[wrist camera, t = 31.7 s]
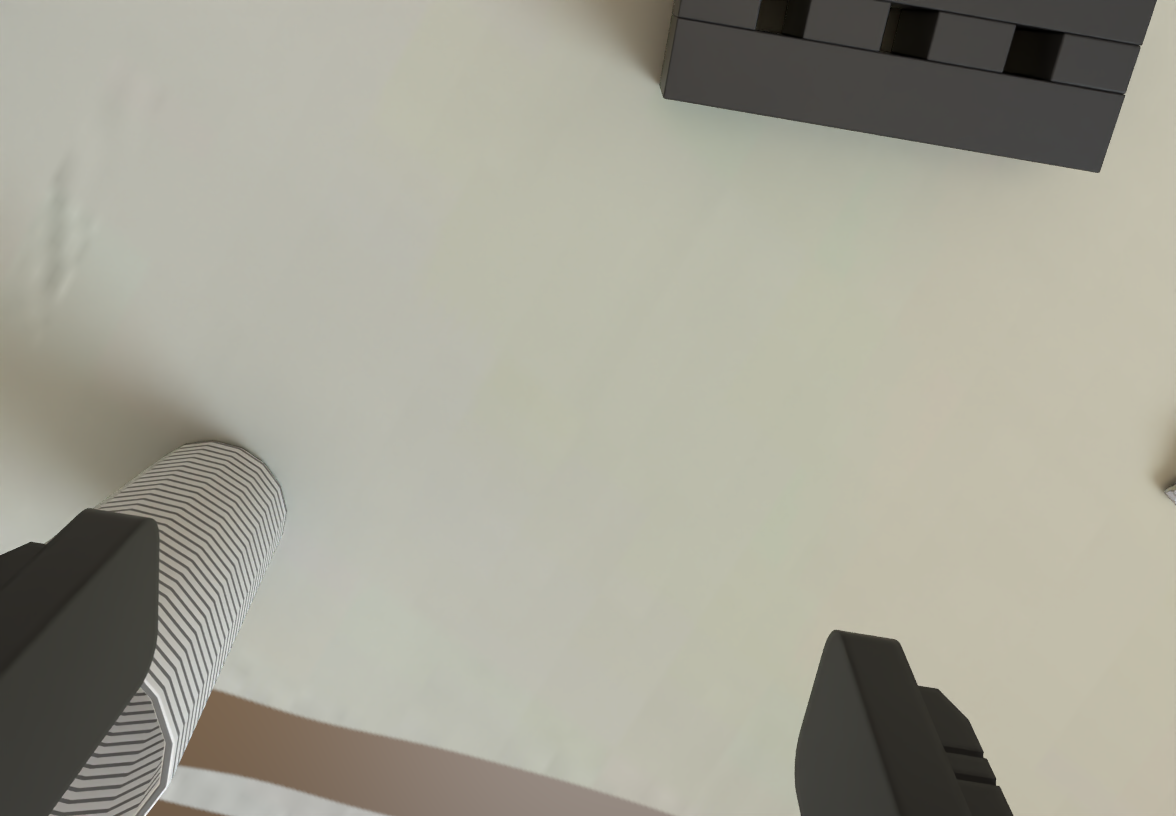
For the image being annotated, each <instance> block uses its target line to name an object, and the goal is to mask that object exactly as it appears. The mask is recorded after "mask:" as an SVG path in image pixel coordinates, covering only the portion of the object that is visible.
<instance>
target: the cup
mask: <svg viewBox="0 0 1176 816" xmlns="http://www.w3.org/2000/svg"><path fill="white" fill-rule="evenodd" d="M93 509H98V510H105V511H111V512H117V513H123V514H129V515H136V516H142V517H148V518H152V519H154V520H155V521H156V523H157V525H158V528H159V538H160V546H159V602H158V636H157V643H156V649H155V653H154V657H153V660H152V663H151V666H150V669H149V671H148V674H147V676H146V678H145V680H144V682H143V684H142V685H141V687H140V688H139V690H138V691H137V692H136V694H135V695H134V697H133V698H132V699H131V701H130V702H129V704H128V705H127V707H126V708H125V709H124V711H123V712H122V714H121V715H120V716H119V718H118V719H117V721H116V722H115V723H114V725H113V726H112V728H111V729H110V730H109V732H108V733H107V735H106V736H105V737H104V739H103V740H102V742H101V743H100V744H99V746H98V747H97V749H96V750H95V751H94V753H93V754H92V756H91V757H90V758H89V760H88V761H87V763H86V764H85V765H84V767H83V768H82V770H81V771H80V772H79V774H78V775H77V777H76V778H75V779H74V781H73V782H72V784H71V785H70V786H69V788H68V789H67V791H66V792H65V793H64V795H63V796H62V798H61V799H60V800H59V802H58V803H57V805H56V806H55V807H54V809H53V810H52V812H51V813H50V814H49V816H146V815H147V813H148V812H149V811H150V809H151V808H152V807H153V806H154V804H155V803H156V802H157V800H158V799H159V798H160V797H161V795H162V794H163V793H164V791H165V790H166V789H167V788H168V786H169V784H170V782H171V780H172V778H173V775H174V773H175V771H176V769H177V767H178V764H179V762H180V760H181V758H182V755H183V753H184V751H185V749H186V747H187V744H188V742H189V740H190V738H191V736H192V733H193V731H194V729H195V727H196V725H197V722H198V720H199V718H200V715H201V713H202V711H203V709H204V707H205V705H206V702H207V700H208V698H209V696H210V693H211V691H212V689H213V687H214V685H215V682H216V680H217V678H218V676H219V674H220V671H221V669H222V667H223V665H224V663H225V660H226V658H227V656H228V654H229V651H230V649H231V647H232V645H233V643H234V640H235V638H236V636H237V634H238V632H239V629H240V627H241V625H242V623H243V620H244V618H245V616H246V614H247V612H248V609H249V607H250V605H251V603H252V601H253V598H254V596H255V594H256V592H257V590H258V587H259V585H260V583H261V581H262V578H263V576H264V574H265V572H266V570H267V567H268V565H269V563H270V561H271V559H272V556H273V554H274V552H275V550H276V547H277V545H278V543H279V541H280V539H281V536H282V534H283V529H284V523H285V518H286V512H287V509H286V505H285V501H284V498H283V494H282V490H281V486H280V484H279V483H278V481H277V480H276V479H275V477H274V476H273V475H272V473H271V472H270V471H269V469H268V468H267V466H266V465H265V464H264V463H263V462H262V461H260V460H259V459H257V458H256V457H254V456H253V455H251V454H250V453H248V452H247V451H245V450H244V449H242V448H240V447H236V446H232V445H228V444H224V443H220V442H216V441H206V442H198V443H189V444H185V445H183V446H181V447H179V448H178V449H176V450H174V451H172V452H171V453H169V454H167V455H165V456H164V457H162V458H161V459H160V460H158V461H157V462H156V463H154V464H153V465H151V466H150V467H149V468H147V469H146V470H145V471H143V472H142V473H140V474H139V475H138V476H136V477H135V478H134V479H132V480H131V481H130V482H128V483H127V484H125V485H124V486H123V487H121V488H120V489H119V490H117V491H116V492H115V493H113V494H112V495H110V496H109V497H108V498H106V499H105V500H104V501H102V502H101V503H99V504H98V505H97V506H95V507H94V508H93ZM54 537H55V536H54ZM54 537H53V538H54ZM53 538H52V539H53ZM52 539H50V540H52ZM50 540H49V541H50ZM49 541H48V542H49ZM48 542H46V543H45V544H47V543H48Z"/></svg>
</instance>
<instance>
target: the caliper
mask: <svg viewBox="0 0 1176 816" xmlns="http://www.w3.org/2000/svg"><path fill="white" fill-rule="evenodd" d="M1164 493H1165V494H1166V495H1167V496H1168V497H1169V498H1170V499H1171V500H1172V501H1173V502H1174V503H1175V505H1176V483H1175V484H1173V485H1172V486H1170V487H1169V488H1167V489H1166V490H1165V491H1164Z"/></svg>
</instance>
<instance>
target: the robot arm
mask: <svg viewBox="0 0 1176 816" xmlns="http://www.w3.org/2000/svg"><path fill="white" fill-rule="evenodd" d="M159 546H160V538H159V528H158V525H157V523H156V521H155V520H154V519H152V518H148V517H142V516H136V515H129V514H123V513H117V512H111V511H105V510H98V509H92V508H87V509H85V510H83V511H82V512H81V513H79V514H78V515H77V516H76V517H75V518H74V519H73V520H72V521H71V522H70V523H69V524H68V525H67V526H65V527H64V528H63V529H62V530H61V531H60V532H59V533H58V534H57V535H56V536H55V537H54V538H53V539H52V540H50V541H49V542H48V543H47V544H41V543H35V542H29V543H27V544H25V545H23V546H20V547H18V548H16V549H14V550H11V551H9V552H7V553H5V554H2V555H0V816H49V814H50V813H51V812H52V810H53V809H54V807H55V806H56V805H57V803H58V802H59V800H60V799H61V798H62V796H63V795H64V793H65V792H66V791H67V789H68V788H69V786H70V785H71V784H72V782H73V781H74V779H75V778H76V777H77V775H78V774H79V772H80V771H81V770H82V768H83V767H84V765H85V764H86V763H87V761H88V760H89V758H90V757H91V756H92V754H93V753H94V751H95V750H96V749H97V747H98V746H99V744H100V743H101V742H102V740H103V739H104V737H105V736H106V735H107V733H108V732H109V730H110V729H111V728H112V726H113V725H114V723H115V722H116V721H117V719H118V718H119V716H120V715H121V714H122V712H123V711H124V709H125V708H126V707H127V705H128V704H129V702H130V701H131V699H132V698H133V697H134V695H135V694H136V692H137V691H138V690H139V688H140V687H141V685H142V684H143V682H144V680H145V678H146V676H147V674H148V671H149V669H150V666H151V663H152V660H153V657H154V653H155V649H156V643H157V636H158V602H159ZM983 753H984V752H983V750H982V748H981V745H980V743H979V741H978V739H977V737H976V735H975V733H974V730H973V728H972V726H971V724H970V722H969V720H968V719H967V718H966V717H965V716H964V715H963V714H962V713H961V712H960V711H959V710H958V709H957V708H956V707H955V706H954V705H953V704H952V703H951V702H950V701H949V700H948V699H947V698H946V697H945V696H944V695H943V693H942V692H941V691H940V690H939V689H935V688H929V687H923V686H918V685H917V683H916V680H915V678H914V675H913V673H912V671H911V668H910V666H909V663H908V661H907V659H906V656H905V654H904V651H903V649H902V647H901V645H900V643H899V642H898V641H897V640H895V639H889V638H883V637H877V636H871V635H865V634H858V633H852V632H846V631H840V630H834V631H832V632H831V634H830V635H829V637H828V638H827V641H826V643H825V646H824V649H823V653H822V656H821V660H820V663H819V667H818V671H817V674H816V678H815V681H814V685H813V688H812V692H811V695H810V699H809V702H808V706H807V709H806V713H805V716H804V720H803V723H802V727H801V730H800V734H799V738H798V743H797V749H796V757H795V788H796V794H797V799H798V803H799V808H800V813H801V816H1013V814H1012V812H1011V810H1010V807H1009V805H1008V803H1007V801H1006V799H1005V797H1004V795H1003V792H1002V790H1001V788H1000V786H996V777H995V775H994V773H993V771H992V769H991V767H990V765H989V763H988V760H987V759H985V758H983Z"/></svg>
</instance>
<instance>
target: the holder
mask: <svg viewBox="0 0 1176 816" xmlns="http://www.w3.org/2000/svg"><path fill="white" fill-rule="evenodd" d="M1156 1H1157V0H789V2H788V7H787V11H786V16H785V20H784V25H783V30H782V34H779V33H774V32H768V31H762V30H756V24H757V20H758V15H759V10H760V5H761V0H674V6H673V12H672V14H673V15H672V17H671V23H670V28H669V34H668V40H667V45H666V51H665V56H664V62H663V68H662V73H661V79H660V84H659V85H660V89H661V92H662V95H663V98H665V99H671V100H676V101H682V102H688V103H694V104H700V105H706V106H711V107H717V108H723V109H729V110H735V111H740V112H746V113H752V114H758V115H764V116H770V117H775V118H781V119H787V120H793V121H799V122H805V123H810V124H816V125H822V126H828V127H834V128H840V129H845V130H851V131H857V132H863V133H869V134H874V135H880V136H886V137H892V138H898V139H904V140H909V141H915V142H921V143H927V144H933V145H939V146H944V147H950V148H956V149H962V150H968V151H974V152H979V153H985V154H991V155H997V156H1003V157H1008V158H1014V159H1020V160H1026V161H1032V162H1038V163H1043V164H1049V165H1055V166H1061V167H1067V168H1073V169H1078V170H1084V171H1090V172H1096V173H1099V172H1100V170H1101V167H1102V164H1103V161H1104V158H1105V155H1106V152H1107V149H1108V146H1109V143H1110V140H1111V137H1112V134H1113V131H1114V128H1115V125H1116V122H1117V119H1118V116H1119V112H1120V109H1121V106H1122V103H1123V100H1124V97H1125V95H1124V94H1125V92H1126V90H1127V87H1128V84H1129V81H1130V78H1131V75H1132V72H1133V69H1134V66H1135V63H1136V60H1137V57H1138V54H1139V51H1140V46H1139V45H1142V44H1143V41H1144V38H1145V35H1146V31H1147V28H1148V25H1149V22H1150V19H1151V16H1152V13H1153V10H1154V7H1155V4H1156ZM890 7H894V8H899V9H903V10H902V11H901V15H900V19H899V23H898V27H897V31H896V35H895V38H894V42H893V46H892V50H891V51H892V53H889V52H883V51H879V50H880V47H881V43H882V39H883V35H884V31H885V27H886V23H887V19H888V15H889V11H890Z"/></svg>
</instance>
